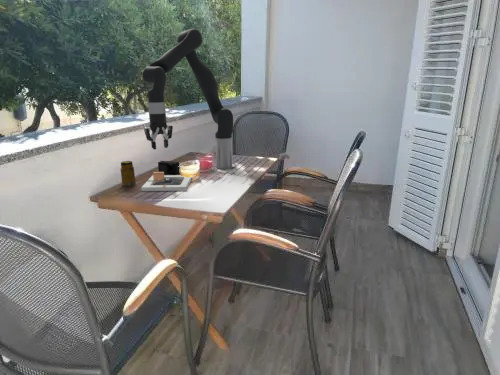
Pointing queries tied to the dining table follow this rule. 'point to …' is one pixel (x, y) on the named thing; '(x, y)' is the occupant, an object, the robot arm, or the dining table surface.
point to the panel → (151, 187)
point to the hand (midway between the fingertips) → (160, 148)
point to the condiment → (127, 173)
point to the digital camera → (168, 167)
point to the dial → (164, 179)
